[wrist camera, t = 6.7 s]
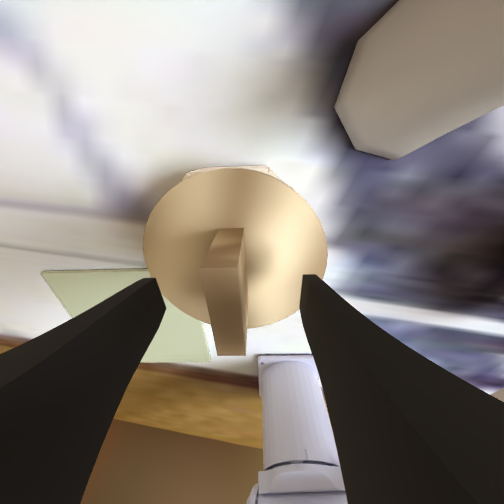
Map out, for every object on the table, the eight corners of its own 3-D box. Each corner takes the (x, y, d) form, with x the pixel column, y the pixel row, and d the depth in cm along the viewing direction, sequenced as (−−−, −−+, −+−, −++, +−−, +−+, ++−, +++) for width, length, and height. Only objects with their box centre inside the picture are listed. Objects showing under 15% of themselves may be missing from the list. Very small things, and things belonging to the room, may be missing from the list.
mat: (211, 359, 23) (210, 362, 23) (106, 359, 24) (103, 362, 24) (189, 267, 17) (187, 270, 16) (44, 271, 17) (40, 273, 17)
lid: (336, 163, 9) (408, 171, 5) (311, 317, 15) (335, 387, 10) (125, 171, 10) (18, 186, 5) (174, 319, 15) (141, 387, 11)
